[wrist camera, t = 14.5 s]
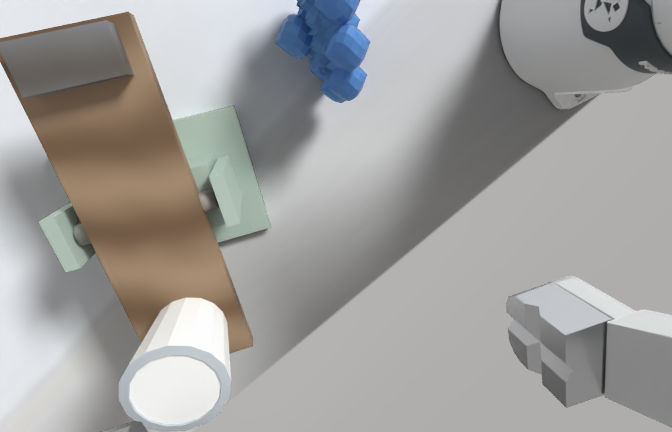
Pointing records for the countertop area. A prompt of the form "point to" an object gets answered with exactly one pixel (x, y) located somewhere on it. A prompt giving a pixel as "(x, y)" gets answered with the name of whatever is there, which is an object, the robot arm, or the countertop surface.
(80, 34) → the seesaw beam
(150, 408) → the white cup
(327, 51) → the grapes
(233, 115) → the pivot stand
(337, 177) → the countertop surface
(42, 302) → the countertop surface
